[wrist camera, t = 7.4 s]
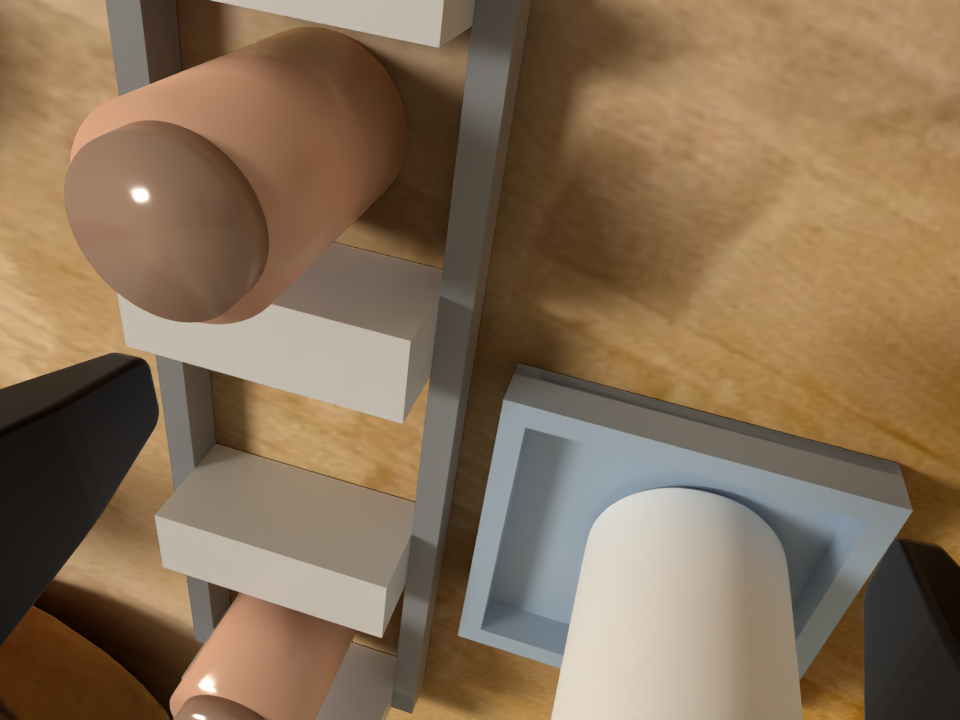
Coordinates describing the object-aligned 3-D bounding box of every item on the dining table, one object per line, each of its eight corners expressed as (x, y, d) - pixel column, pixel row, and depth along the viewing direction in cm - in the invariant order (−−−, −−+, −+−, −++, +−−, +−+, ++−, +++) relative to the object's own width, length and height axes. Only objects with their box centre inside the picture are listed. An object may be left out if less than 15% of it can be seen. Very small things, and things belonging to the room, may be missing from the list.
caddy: (537, -41, 18) (496, -19, 14) (422, 683, 35) (392, 768, 32) (129, -118, 19) (8, -114, 16) (213, 614, 36) (163, 688, 33)
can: (824, 521, 23) (897, 991, 14) (737, 640, 27) (746, 1073, 17) (622, 451, 24) (555, 855, 14) (565, 577, 28) (481, 963, 18)
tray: (899, 463, 22) (913, 510, 21) (761, 684, 29) (764, 733, 27) (518, 362, 24) (503, 399, 22) (471, 594, 30) (457, 635, 29)
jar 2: (374, 558, 31) (286, 737, 25) (368, 632, 34) (288, 809, 28) (262, 524, 32) (148, 689, 25) (265, 599, 34) (164, 764, 28)
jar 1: (415, 47, 19) (269, 137, 13) (401, 224, 22) (276, 368, 16) (237, 10, 20) (17, 78, 14) (245, 187, 23) (67, 310, 17)
